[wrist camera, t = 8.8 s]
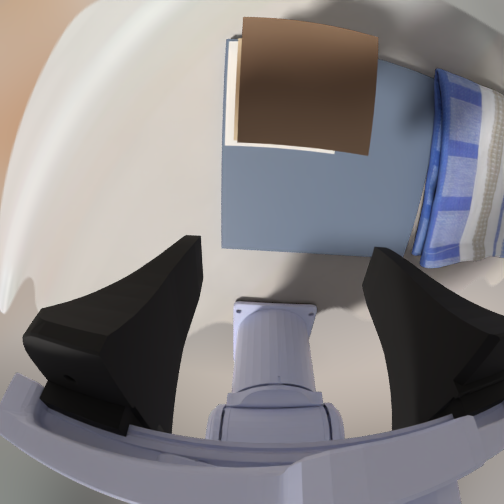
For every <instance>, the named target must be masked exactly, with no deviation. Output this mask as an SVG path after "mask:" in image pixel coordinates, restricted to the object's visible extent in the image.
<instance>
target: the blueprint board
mask: <svg viewBox="0 0 504 504" xmlns="http://www.w3.org/2000/svg"><path fill="white" fill-rule="evenodd" d="M237 52H238V39H226V54H225V74H224V98H223V129H222V188H221V235H222V248H227V249H244V250H262V251H279V252H296V253H314V254H331V255H348V256H365V257H372V253H373V250H374V247H387V248H389V249H391V250H392V251H394V252H396V253H397V254H399V255H400V256H402V257H403V256H404V253H405V250H406V247H407V244H408V241H409V238H410V235H411V232H412V228H413V225H414V221H415V218H416V214H417V211H418V207H419V203H420V200H421V196H422V191H423V187H424V183H425V179H426V174H427V169H428V164H429V159H430V152H431V144H432V135H433V126H434V115H435V109H434V95H435V93H434V78H431V77H429V76H426V75H424V74H421V73H419V72H416V71H413V70H411V69H408V68H405V67H402V66H399V65H396V64H393V63H390V62H387V61H383V60H380V59H378V67H377V83H376V96H375V107H374V116H373V125H372V133H371V141H370V148H369V154H368V156H365V155H359V154H353V153H346V152H339V151H332V150H324V149H316V148H307V147H297V146H286V145H274V144H257V143H237V140H234V116H235V92H236V71H237Z"/></svg>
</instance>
